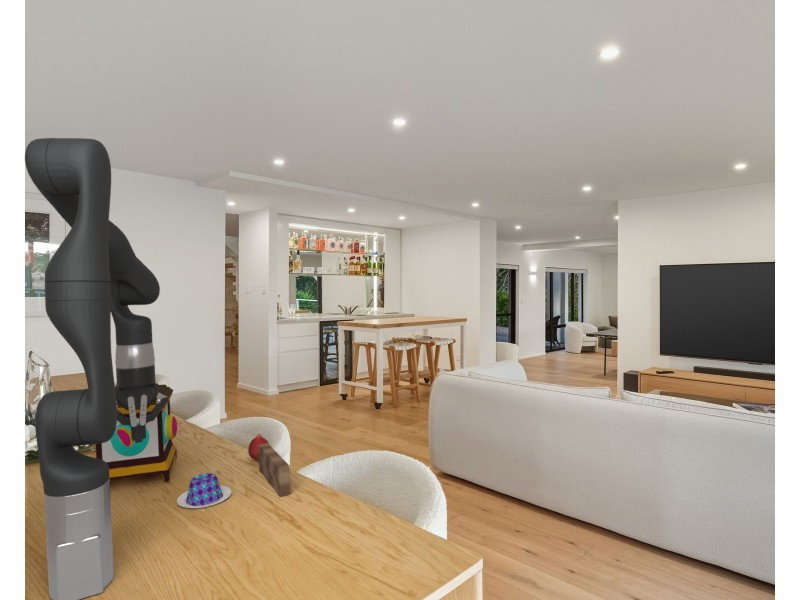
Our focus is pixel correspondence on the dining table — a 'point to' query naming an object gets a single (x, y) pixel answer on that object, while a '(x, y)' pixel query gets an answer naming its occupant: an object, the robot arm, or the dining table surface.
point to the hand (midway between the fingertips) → (139, 441)
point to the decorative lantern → (142, 445)
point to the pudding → (204, 492)
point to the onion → (256, 446)
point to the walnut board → (274, 469)
